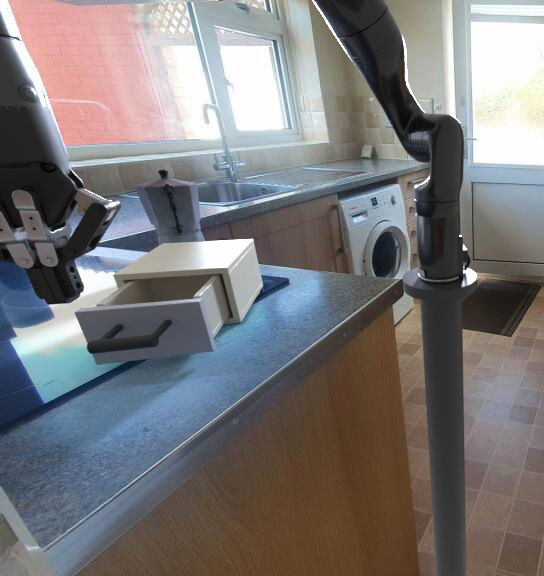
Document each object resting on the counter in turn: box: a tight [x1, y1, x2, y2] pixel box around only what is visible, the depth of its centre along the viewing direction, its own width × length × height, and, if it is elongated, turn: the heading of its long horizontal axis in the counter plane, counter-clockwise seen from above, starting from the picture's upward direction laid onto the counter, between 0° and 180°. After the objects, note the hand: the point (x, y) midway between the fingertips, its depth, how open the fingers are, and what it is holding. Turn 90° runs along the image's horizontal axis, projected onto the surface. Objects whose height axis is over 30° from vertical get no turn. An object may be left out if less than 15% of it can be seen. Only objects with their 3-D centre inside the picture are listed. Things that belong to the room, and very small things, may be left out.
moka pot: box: [133, 169, 206, 246], centre depth 81 cm, size 10×15×20 cm, turn 44°
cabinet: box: [112, 238, 264, 325], centre depth 68 cm, size 16×14×9 cm
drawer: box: [73, 273, 232, 366], centre depth 55 cm, size 20×13×7 cm, turn 18°
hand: (64, 300), depth 39 cm, fingers closed
